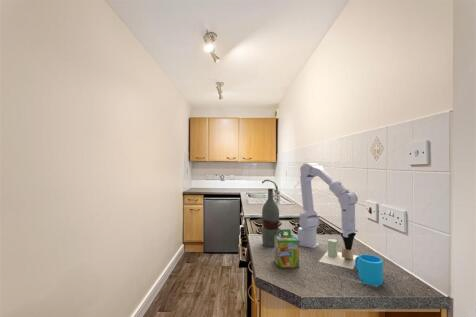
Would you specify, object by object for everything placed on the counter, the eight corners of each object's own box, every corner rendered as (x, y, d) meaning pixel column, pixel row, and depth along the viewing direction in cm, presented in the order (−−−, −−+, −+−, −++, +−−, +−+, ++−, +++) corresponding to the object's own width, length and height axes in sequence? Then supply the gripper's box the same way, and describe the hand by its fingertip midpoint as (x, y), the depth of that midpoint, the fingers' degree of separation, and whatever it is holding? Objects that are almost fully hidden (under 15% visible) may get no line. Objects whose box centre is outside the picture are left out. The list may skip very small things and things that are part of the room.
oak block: (344, 257, 113) (341, 257, 108) (345, 249, 114) (342, 248, 109) (353, 259, 111) (350, 259, 106) (353, 250, 112) (350, 250, 107)
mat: (318, 262, 109) (318, 261, 109) (328, 251, 123) (328, 250, 123) (353, 270, 101) (353, 269, 101) (359, 257, 115) (359, 255, 115)
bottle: (260, 246, 130) (260, 189, 130) (263, 241, 139) (263, 187, 139) (278, 247, 128) (278, 190, 128) (280, 242, 136) (279, 188, 137)
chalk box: (278, 268, 103) (277, 233, 103) (273, 259, 112) (273, 227, 112) (299, 268, 104) (299, 232, 104) (293, 259, 113) (293, 227, 113)
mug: (388, 284, 90) (388, 261, 90) (370, 287, 88) (369, 264, 88) (363, 270, 101) (363, 250, 102) (347, 272, 99) (346, 252, 100)
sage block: (327, 255, 116) (327, 240, 116) (329, 253, 119) (329, 238, 119) (335, 257, 114) (335, 242, 114) (337, 254, 117) (337, 240, 117)
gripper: (355, 223, 103) (355, 256, 103) (360, 217, 115) (360, 246, 115) (337, 221, 107) (337, 252, 107) (344, 215, 119) (344, 243, 119)
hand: (348, 249), depth 111 cm, fingers closed
